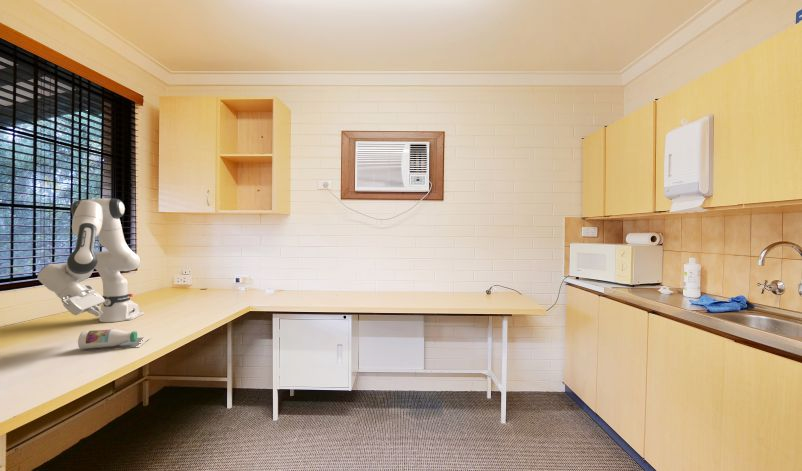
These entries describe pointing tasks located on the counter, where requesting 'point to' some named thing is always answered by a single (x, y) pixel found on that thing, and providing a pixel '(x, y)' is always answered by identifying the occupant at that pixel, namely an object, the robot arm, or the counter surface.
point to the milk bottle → (105, 338)
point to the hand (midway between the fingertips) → (100, 314)
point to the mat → (122, 345)
